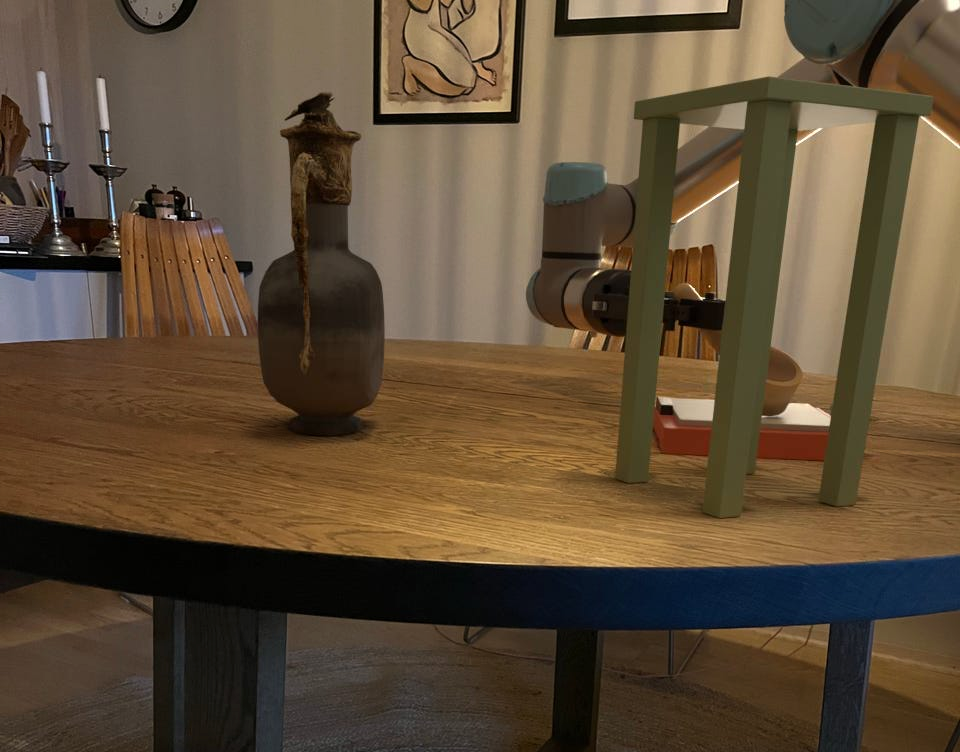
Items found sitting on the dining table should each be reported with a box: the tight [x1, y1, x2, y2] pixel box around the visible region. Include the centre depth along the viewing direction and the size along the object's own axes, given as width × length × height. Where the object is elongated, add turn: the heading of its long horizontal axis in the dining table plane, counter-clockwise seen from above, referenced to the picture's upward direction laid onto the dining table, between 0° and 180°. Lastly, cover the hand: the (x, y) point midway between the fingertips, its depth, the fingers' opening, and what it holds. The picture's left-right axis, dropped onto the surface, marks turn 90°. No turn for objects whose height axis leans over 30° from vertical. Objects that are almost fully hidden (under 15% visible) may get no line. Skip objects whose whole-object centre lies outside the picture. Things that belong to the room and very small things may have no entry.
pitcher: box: [257, 91, 386, 437], centre depth 96 cm, size 11×19×30 cm, turn 178°
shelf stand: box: [614, 75, 934, 519], centre depth 77 cm, size 15×14×28 cm
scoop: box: [672, 282, 804, 416], centre depth 105 cm, size 20×7×4 cm, turn 25°
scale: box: [653, 396, 831, 462], centre depth 104 cm, size 18×18×3 cm
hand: (731, 316), depth 104 cm, fingers closed on scoop, 2 cm apart
